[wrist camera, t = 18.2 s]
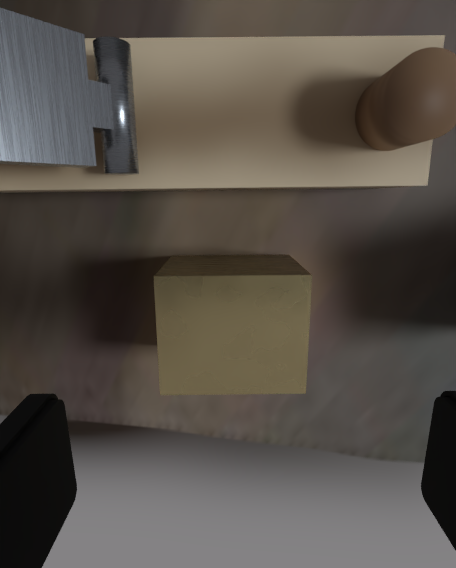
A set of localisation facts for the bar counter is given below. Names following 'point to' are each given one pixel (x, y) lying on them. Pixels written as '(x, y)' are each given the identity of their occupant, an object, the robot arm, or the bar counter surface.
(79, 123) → the lever
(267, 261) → the olive cube-like block
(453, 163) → the bar counter surface
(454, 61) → the wooden block plane
